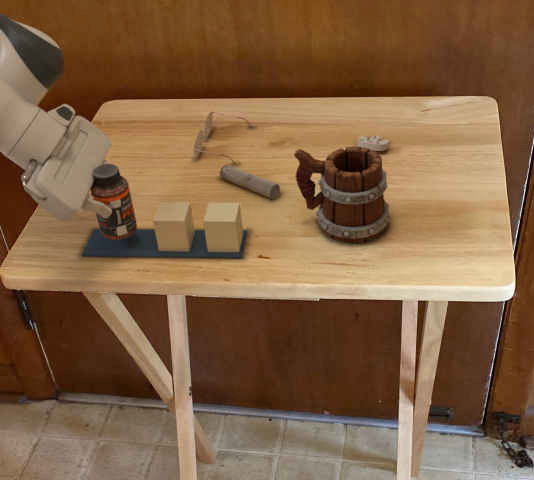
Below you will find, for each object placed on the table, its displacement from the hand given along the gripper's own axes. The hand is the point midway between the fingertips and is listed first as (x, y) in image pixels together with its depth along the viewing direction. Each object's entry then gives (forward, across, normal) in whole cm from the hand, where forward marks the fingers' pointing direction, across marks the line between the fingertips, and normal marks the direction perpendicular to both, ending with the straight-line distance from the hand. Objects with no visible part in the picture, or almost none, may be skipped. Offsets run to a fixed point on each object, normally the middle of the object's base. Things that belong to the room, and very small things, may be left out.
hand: (116, 199), depth 127 cm
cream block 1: (+12, 0, 0) cm, 12 cm away
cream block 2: (+17, 0, -6) cm, 18 cm away
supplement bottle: (+4, 0, +5) cm, 6 cm away
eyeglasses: (+14, +30, -2) cm, 34 cm away
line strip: (+11, 0, +1) cm, 11 cm away
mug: (+31, +6, -19) cm, 37 cm away
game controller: (+33, +26, -21) cm, 47 cm away
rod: (+19, +16, -7) cm, 26 cm away
